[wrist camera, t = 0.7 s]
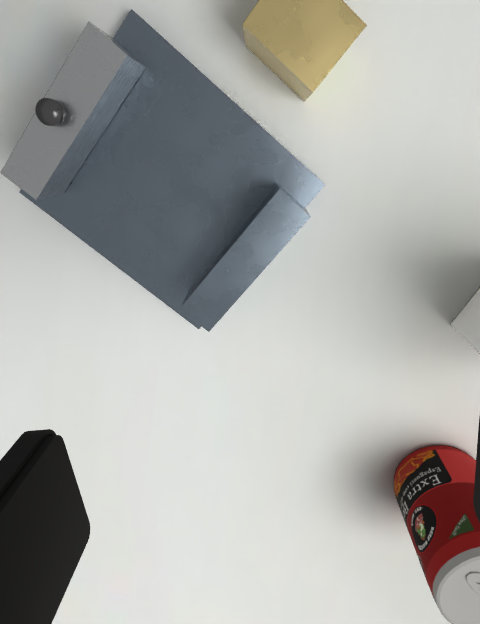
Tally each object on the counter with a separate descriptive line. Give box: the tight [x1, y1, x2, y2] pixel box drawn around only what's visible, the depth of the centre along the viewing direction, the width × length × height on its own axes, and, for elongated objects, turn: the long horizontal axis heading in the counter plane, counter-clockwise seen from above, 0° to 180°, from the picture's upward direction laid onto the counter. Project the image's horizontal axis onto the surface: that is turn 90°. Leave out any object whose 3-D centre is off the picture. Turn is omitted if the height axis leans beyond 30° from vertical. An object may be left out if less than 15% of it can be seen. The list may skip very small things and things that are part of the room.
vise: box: [20, 9, 325, 332], centre depth 29 cm, size 14×16×5 cm
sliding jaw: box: [0, 22, 146, 200], centre depth 27 cm, size 10×2×5 cm, turn 140°
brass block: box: [242, 0, 367, 101], centre depth 25 cm, size 4×5×6 cm
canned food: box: [394, 446, 480, 624], centre depth 34 cm, size 8×8×11 cm
